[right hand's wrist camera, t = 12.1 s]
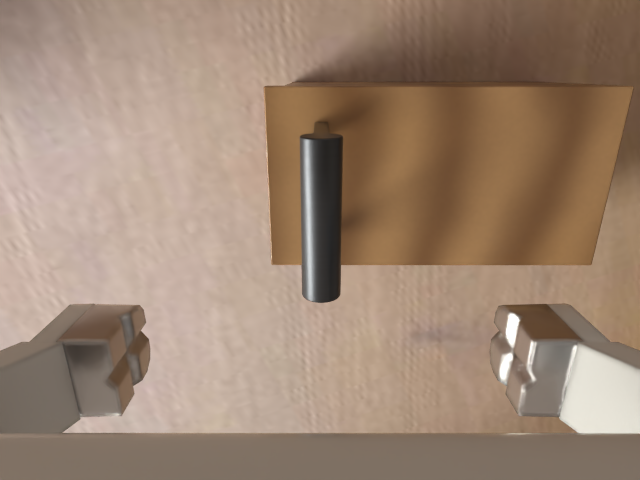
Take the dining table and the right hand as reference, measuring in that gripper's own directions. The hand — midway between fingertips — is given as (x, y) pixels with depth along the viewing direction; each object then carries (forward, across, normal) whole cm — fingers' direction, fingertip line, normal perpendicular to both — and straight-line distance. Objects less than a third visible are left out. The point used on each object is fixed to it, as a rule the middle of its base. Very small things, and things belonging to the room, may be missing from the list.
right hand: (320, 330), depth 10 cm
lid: (+15, +6, 0) cm, 17 cm away
